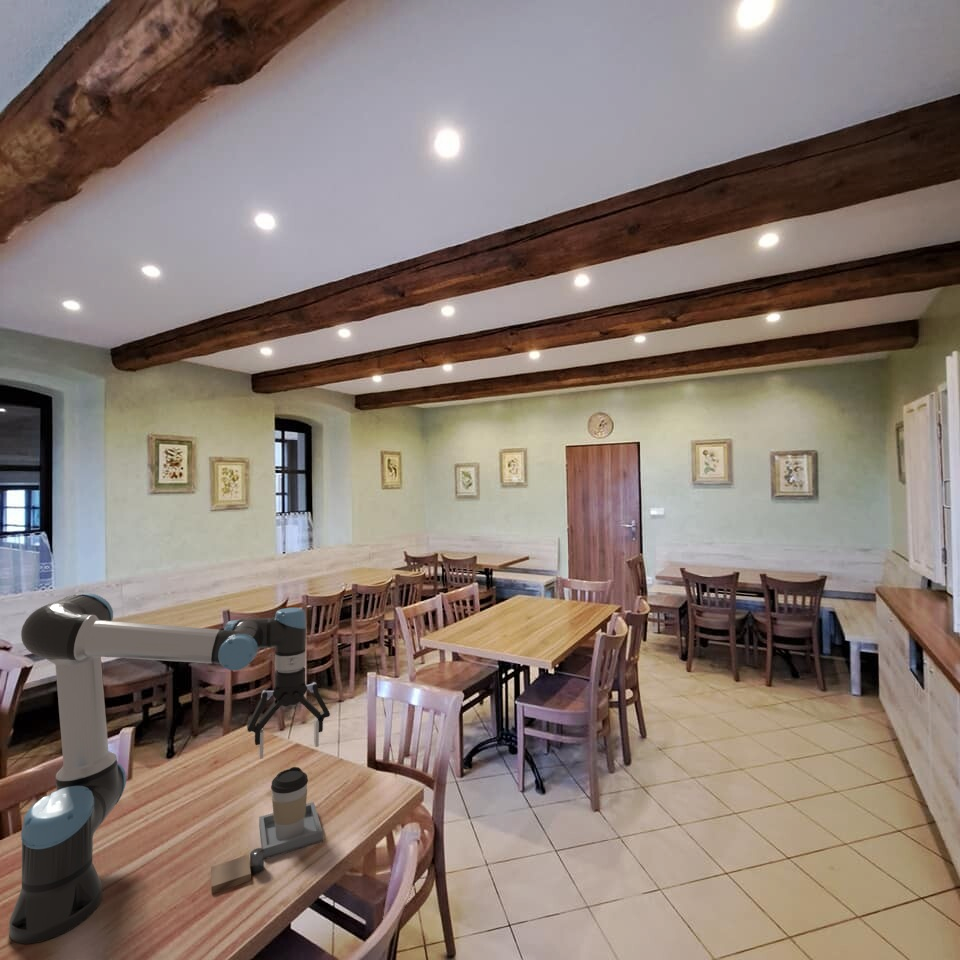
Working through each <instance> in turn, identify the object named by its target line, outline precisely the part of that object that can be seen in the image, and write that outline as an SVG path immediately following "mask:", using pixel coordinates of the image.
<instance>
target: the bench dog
mask: <svg viewBox="0 0 960 960" xmlns="http://www.w3.org/2000/svg"><path fill="white" fill-rule="evenodd" d="M249 862H250V870H251V875H258V874H260V873H262V872H263V871H264V869H265V859H264V849H262V847H257V848H254V849H253V850H251V852H250V853H249Z"/></svg>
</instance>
